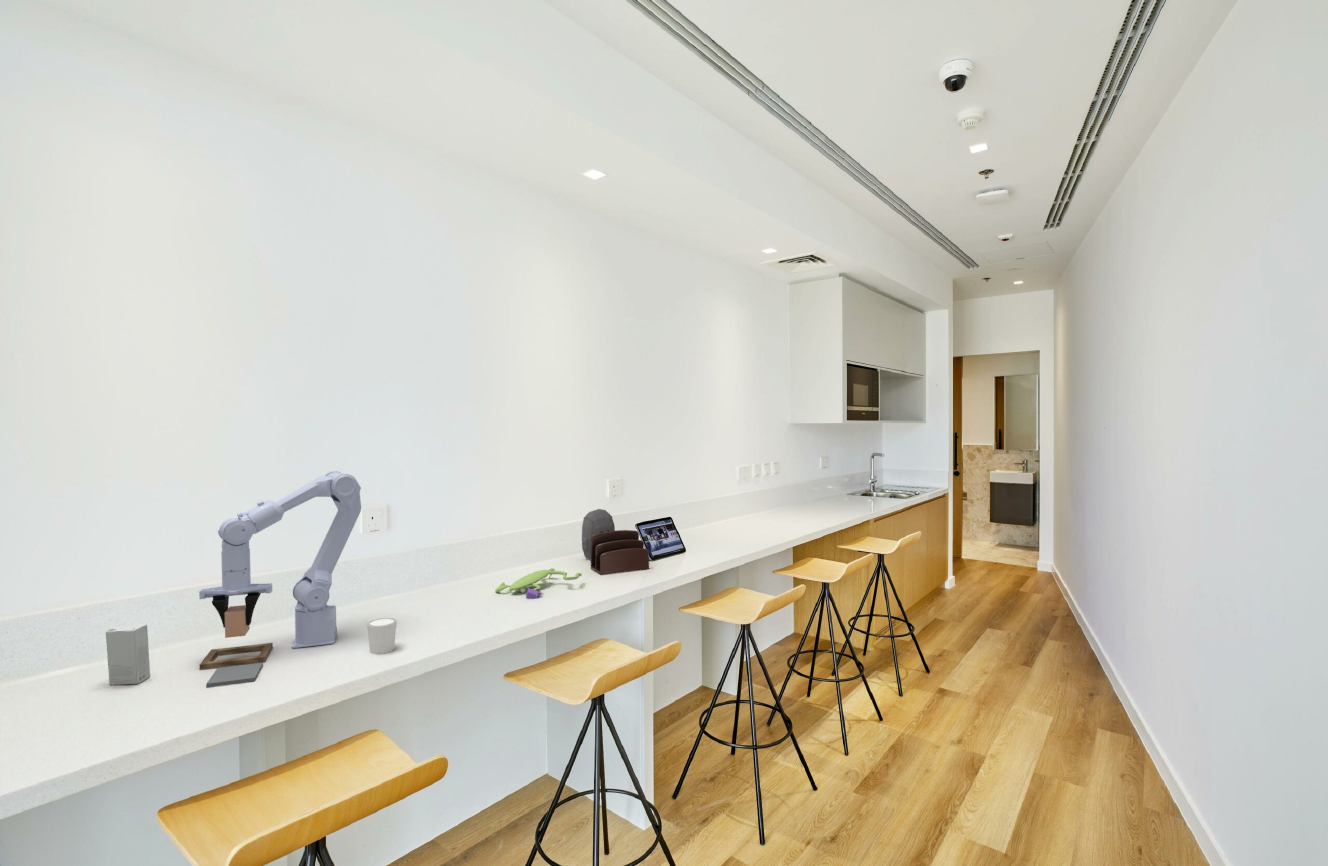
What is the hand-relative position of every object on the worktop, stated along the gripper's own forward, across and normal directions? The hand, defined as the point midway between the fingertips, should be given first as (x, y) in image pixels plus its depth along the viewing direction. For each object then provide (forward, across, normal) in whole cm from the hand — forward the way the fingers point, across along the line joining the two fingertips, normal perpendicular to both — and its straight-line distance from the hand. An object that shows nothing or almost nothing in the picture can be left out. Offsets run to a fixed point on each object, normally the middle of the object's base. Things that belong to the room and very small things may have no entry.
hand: (237, 625), depth 156 cm
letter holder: (+9, +112, +50) cm, 123 cm away
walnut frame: (+8, 0, 0) cm, 8 cm away
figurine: (+9, +80, +35) cm, 87 cm away
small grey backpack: (+9, +110, +69) cm, 130 cm away
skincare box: (+8, -19, -7) cm, 22 cm away
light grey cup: (+8, +32, -6) cm, 34 cm away
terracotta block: (+2, 0, 0) cm, 2 cm away
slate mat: (+8, +2, -12) cm, 15 cm away
